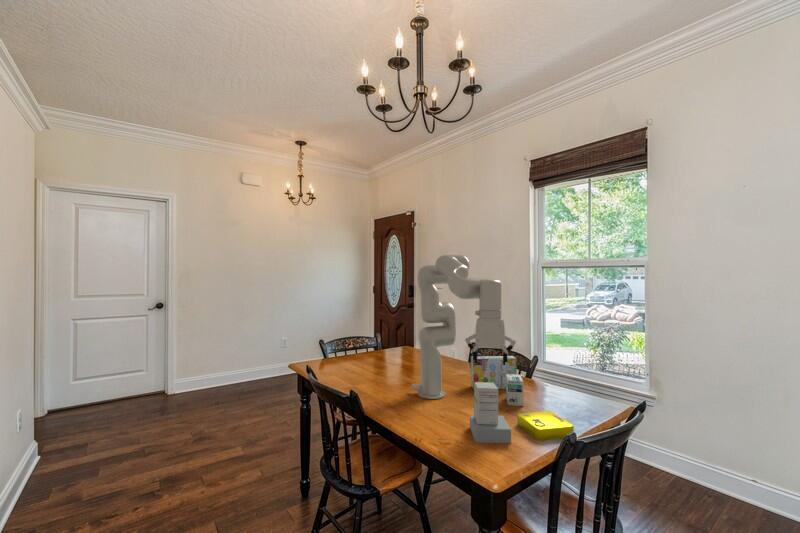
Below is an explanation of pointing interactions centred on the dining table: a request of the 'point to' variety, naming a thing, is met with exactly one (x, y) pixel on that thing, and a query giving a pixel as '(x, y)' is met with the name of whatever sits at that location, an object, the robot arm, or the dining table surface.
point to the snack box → (492, 370)
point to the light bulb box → (514, 390)
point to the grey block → (490, 431)
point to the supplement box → (486, 403)
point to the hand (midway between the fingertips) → (489, 363)
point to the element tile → (544, 425)
